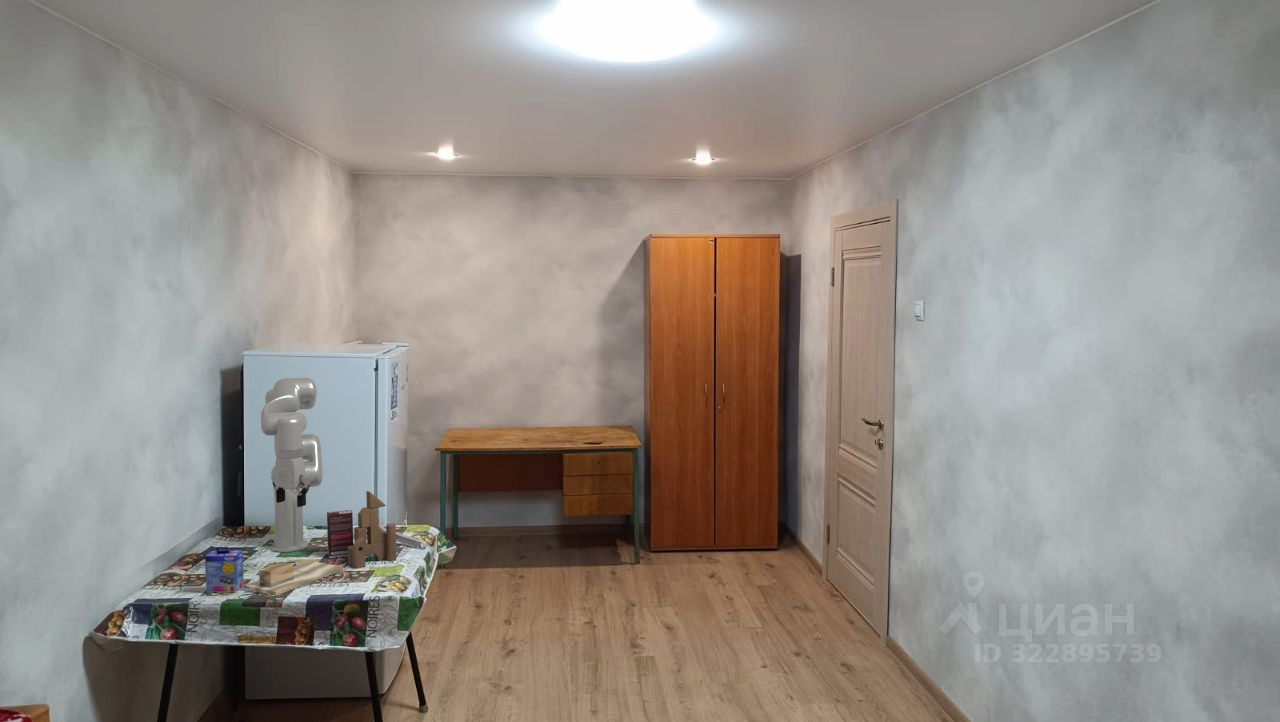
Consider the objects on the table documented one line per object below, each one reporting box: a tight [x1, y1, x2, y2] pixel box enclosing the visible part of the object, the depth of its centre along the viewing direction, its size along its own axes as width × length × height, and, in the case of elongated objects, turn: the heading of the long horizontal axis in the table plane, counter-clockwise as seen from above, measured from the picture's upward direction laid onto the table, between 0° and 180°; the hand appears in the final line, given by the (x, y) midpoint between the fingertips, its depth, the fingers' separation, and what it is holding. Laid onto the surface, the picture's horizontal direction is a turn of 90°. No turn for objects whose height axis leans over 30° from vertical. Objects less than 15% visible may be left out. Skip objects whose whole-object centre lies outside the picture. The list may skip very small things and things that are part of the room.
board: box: [243, 560, 344, 597], centre depth 284 cm, size 14×28×2 cm, turn 154°
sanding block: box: [258, 561, 295, 588], centre depth 277 cm, size 5×9×5 cm, turn 154°
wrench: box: [366, 522, 427, 550], centre depth 326 cm, size 8×2×30 cm
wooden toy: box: [347, 490, 397, 569], centre depth 302 cm, size 16×7×25 cm, turn 132°
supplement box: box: [326, 509, 354, 559], centre depth 310 cm, size 9×5×16 cm, turn 113°
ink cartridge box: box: [204, 546, 245, 594], centre depth 273 cm, size 10×6×14 cm, turn 95°
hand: (291, 503), depth 290 cm, fingers open, 9 cm apart
